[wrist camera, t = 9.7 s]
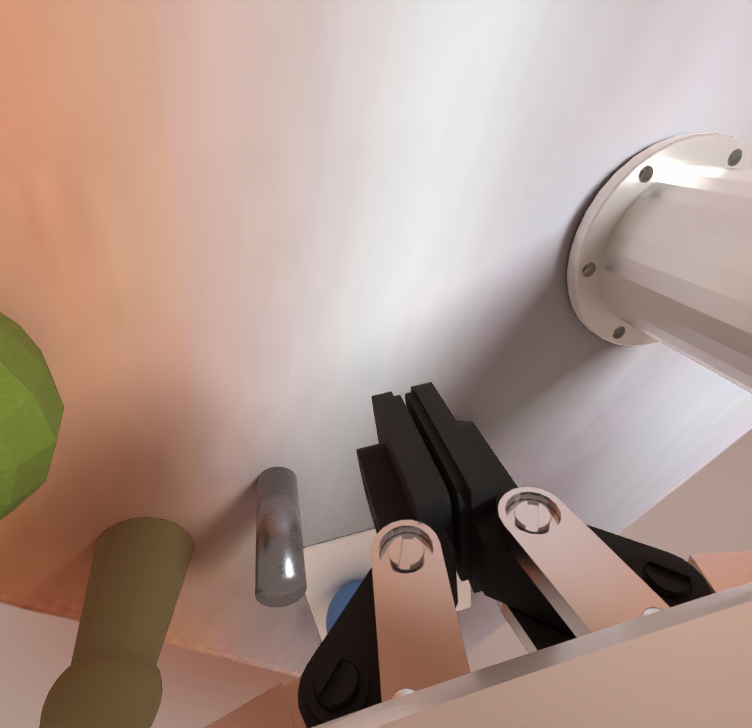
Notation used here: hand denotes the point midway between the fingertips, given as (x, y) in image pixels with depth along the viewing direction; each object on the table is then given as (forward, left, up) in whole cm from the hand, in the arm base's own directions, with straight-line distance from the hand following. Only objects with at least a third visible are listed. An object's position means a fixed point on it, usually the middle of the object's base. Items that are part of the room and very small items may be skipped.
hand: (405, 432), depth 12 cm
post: (+6, +13, -14) cm, 20 cm away
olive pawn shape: (+16, +16, -14) cm, 27 cm away
